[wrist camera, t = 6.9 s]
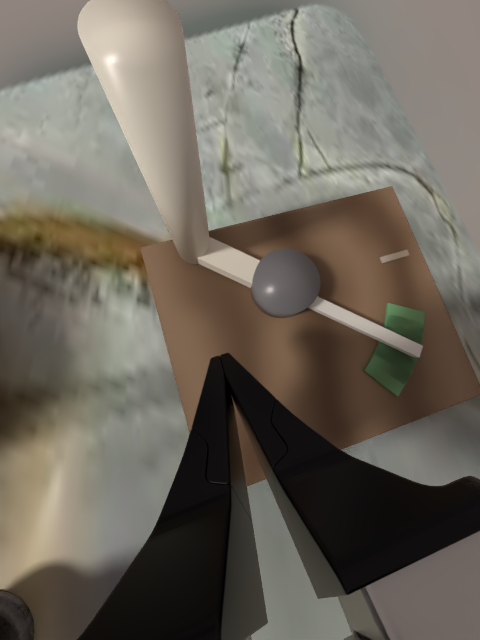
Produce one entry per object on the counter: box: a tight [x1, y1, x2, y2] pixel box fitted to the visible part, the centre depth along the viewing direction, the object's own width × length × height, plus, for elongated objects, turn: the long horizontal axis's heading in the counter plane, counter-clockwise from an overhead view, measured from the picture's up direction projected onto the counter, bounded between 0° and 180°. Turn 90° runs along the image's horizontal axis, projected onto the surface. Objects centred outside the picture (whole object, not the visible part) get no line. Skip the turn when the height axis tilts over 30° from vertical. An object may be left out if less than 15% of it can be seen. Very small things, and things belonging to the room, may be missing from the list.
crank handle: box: [78, 0, 423, 357], centre depth 10 cm, size 19×4×11 cm, turn 65°
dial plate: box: [141, 186, 480, 486], centre depth 16 cm, size 22×18×1 cm
